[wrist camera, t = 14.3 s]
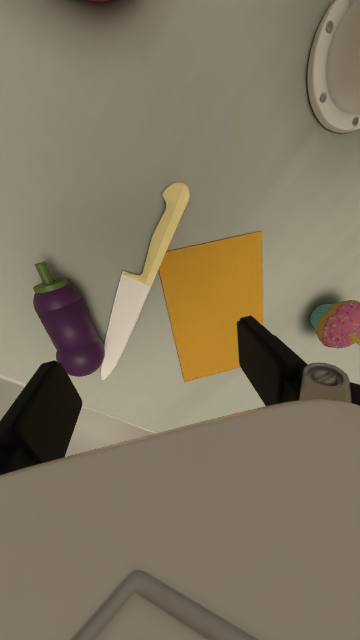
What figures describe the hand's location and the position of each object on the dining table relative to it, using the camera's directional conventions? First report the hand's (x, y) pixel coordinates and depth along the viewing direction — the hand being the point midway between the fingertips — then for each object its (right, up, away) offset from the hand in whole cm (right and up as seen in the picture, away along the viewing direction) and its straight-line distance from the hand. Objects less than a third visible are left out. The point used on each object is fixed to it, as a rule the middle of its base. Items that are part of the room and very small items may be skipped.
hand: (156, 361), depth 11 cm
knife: (-6, +6, +20) cm, 22 cm away
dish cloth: (+8, +3, +24) cm, 25 cm away
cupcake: (+28, +3, +28) cm, 40 cm away
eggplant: (-14, +3, +20) cm, 24 cm away
